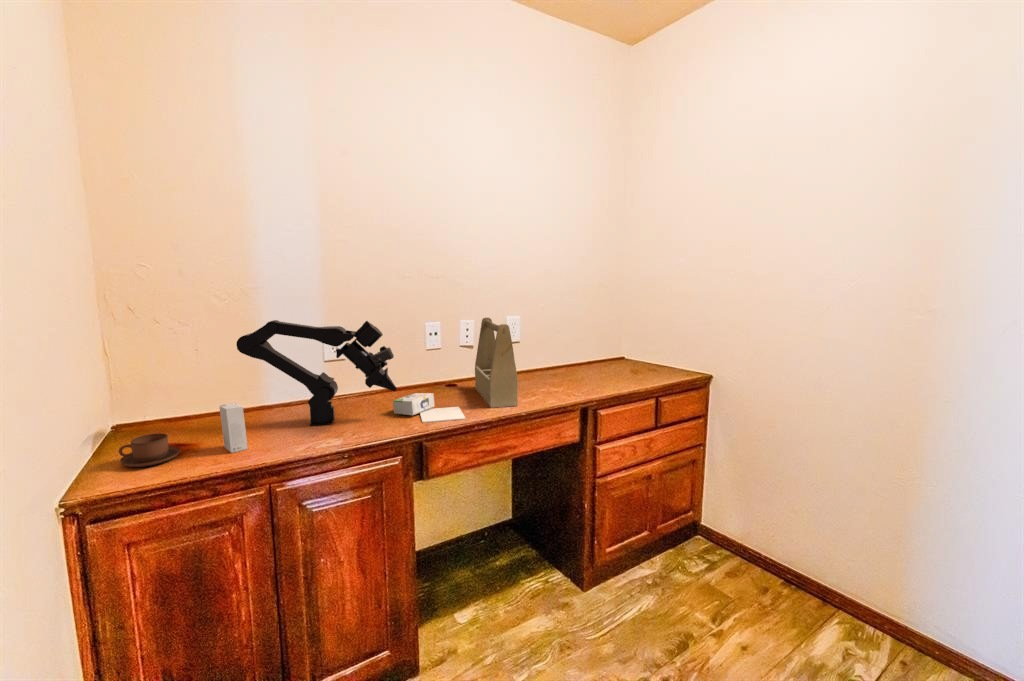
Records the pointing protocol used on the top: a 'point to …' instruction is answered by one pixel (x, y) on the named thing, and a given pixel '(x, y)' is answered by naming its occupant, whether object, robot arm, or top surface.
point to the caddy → (496, 366)
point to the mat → (442, 414)
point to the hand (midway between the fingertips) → (395, 390)
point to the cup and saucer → (148, 451)
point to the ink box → (413, 403)
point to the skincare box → (233, 427)
